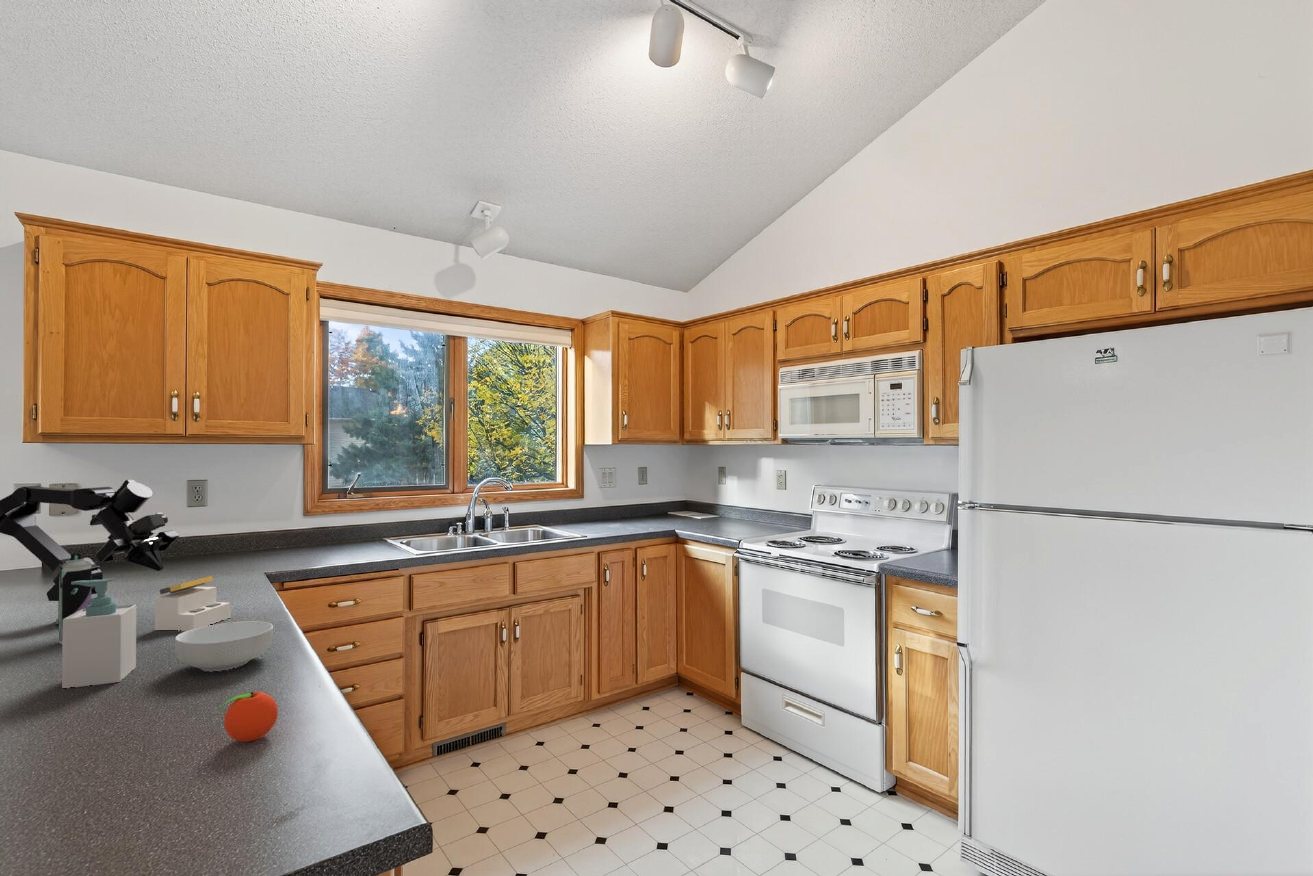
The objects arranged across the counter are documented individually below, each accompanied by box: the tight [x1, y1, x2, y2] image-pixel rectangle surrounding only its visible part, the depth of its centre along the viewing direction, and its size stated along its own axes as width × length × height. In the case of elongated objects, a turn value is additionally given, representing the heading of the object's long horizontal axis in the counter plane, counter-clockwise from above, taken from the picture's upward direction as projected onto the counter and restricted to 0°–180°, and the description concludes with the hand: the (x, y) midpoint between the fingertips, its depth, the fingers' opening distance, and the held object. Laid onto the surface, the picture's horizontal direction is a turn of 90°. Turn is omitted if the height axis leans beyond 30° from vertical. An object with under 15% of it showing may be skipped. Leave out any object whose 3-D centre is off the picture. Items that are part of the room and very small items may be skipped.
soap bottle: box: [61, 577, 137, 689], centre depth 123 cm, size 9×9×19 cm
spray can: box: [58, 553, 92, 645], centre depth 146 cm, size 6×6×20 cm
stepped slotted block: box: [154, 586, 232, 632], centre depth 160 cm, size 10×12×8 cm
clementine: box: [215, 691, 279, 743], centre depth 96 cm, size 8×7×7 cm
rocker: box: [159, 575, 214, 595], centre depth 160 cm, size 6×10×2 cm, turn 175°
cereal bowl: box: [174, 620, 274, 673], centre depth 130 cm, size 17×17×7 cm
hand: (161, 569), depth 161 cm, fingers closed
